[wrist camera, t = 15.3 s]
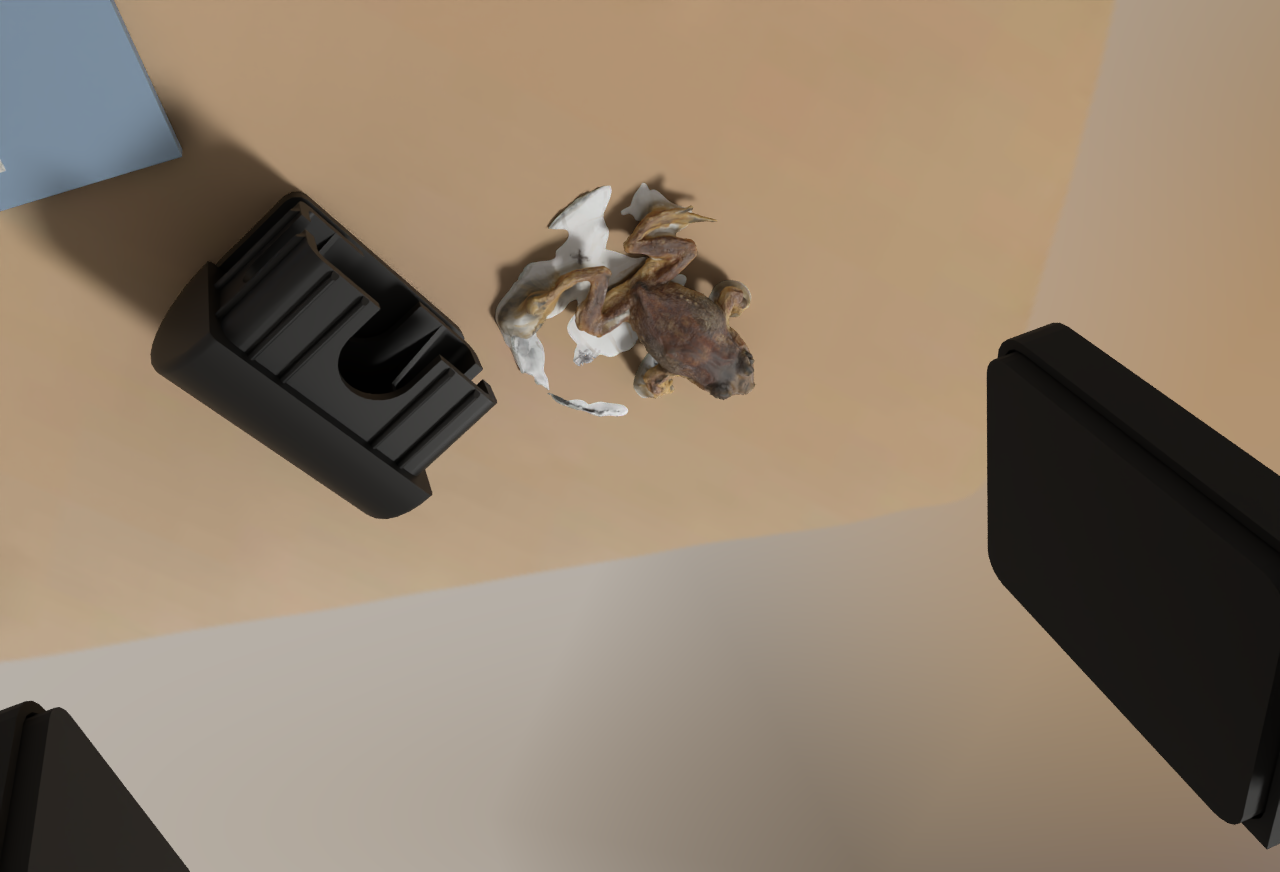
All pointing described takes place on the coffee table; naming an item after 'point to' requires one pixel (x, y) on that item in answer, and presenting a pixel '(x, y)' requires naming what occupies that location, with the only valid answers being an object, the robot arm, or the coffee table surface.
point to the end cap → (325, 358)
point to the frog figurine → (630, 303)
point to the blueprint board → (73, 100)
